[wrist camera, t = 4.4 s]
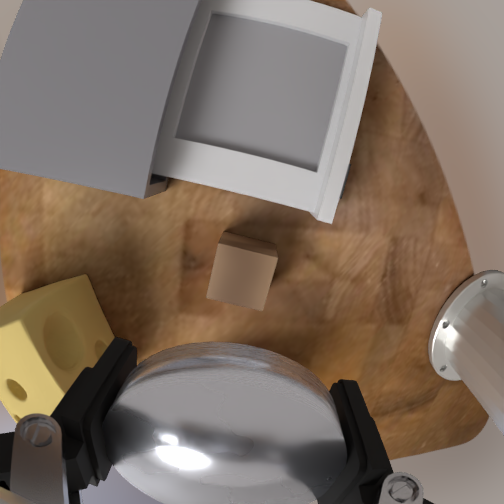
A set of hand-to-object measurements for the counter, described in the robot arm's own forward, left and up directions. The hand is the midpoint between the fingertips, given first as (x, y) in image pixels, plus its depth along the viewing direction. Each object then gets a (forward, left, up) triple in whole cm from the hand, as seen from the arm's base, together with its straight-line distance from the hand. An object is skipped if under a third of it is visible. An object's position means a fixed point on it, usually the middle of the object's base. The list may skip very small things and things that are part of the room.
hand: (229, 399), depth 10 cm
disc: (0, 0, +1) cm, 1 cm away
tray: (+3, -13, -15) cm, 20 cm away
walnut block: (0, 0, -15) cm, 15 cm away
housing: (+15, -13, -15) cm, 25 cm away
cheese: (+15, +11, -16) cm, 25 cm away
